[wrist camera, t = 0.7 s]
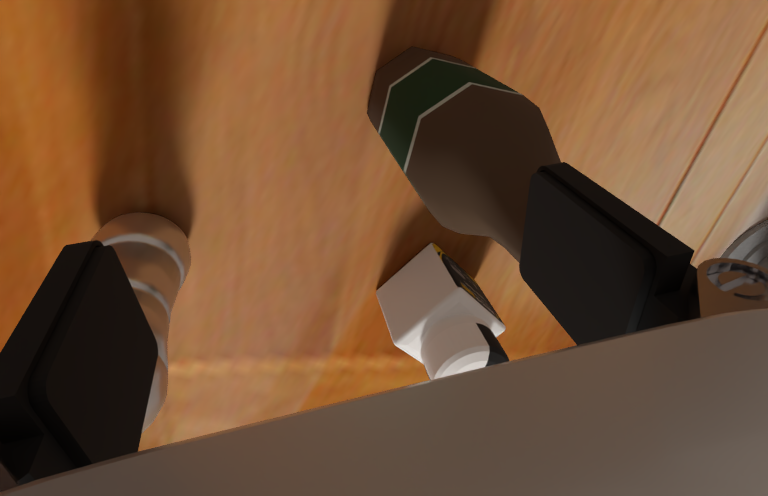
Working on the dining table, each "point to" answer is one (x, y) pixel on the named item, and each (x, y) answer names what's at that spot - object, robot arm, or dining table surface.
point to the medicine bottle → (441, 316)
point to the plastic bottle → (151, 280)
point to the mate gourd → (751, 246)
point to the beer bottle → (462, 142)
